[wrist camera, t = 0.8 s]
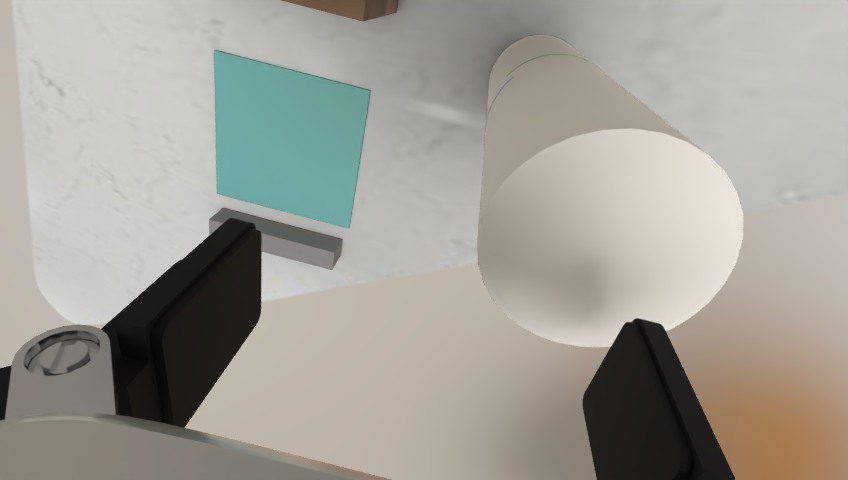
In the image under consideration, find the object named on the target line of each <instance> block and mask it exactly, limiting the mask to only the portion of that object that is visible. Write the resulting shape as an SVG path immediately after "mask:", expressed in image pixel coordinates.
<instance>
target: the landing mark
mask: <svg viewBox="0 0 848 480" xmlns="http://www.w3.org/2000/svg"><path fill="white" fill-rule="evenodd" d="M214 71H215V123H216V174H217V194H220V195H223V196H227V197H231V198H235V199H239V200H242V201H246V202H250V203H254V204H257V205H261V206H265V207H269V208H273V209H276V210H280V211H284V212H288V213H292V214H295V215H299V216H303V217H307V218H311V219H314V220H318V221H322V222H326V223H330V224H333V225H337V226H341V227H345V228H349V227H350V221H351V214H352V208H353V201H354V195H355V188H356V182H357V175H358V169H359V163H360V156H361V150H362V143H363V137H364V130H365V124H366V117H367V111H368V104H369V98H370V91H371V90H367V89H363V88H359V87H355V86H351V85H347V84H344V83H340V82H336V81H332V80H328V79H324V78H321V77H317V76H313V75H309V74H305V73H301V72H297V71H294V70H290V69H286V68H282V67H278V66H274V65H270V64H267V63H263V62H259V61H255V60H251V59H247V58H244V57H240V56H236V55H232V54H228V53H224V52H220V51H217V50H214Z"/></svg>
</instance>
